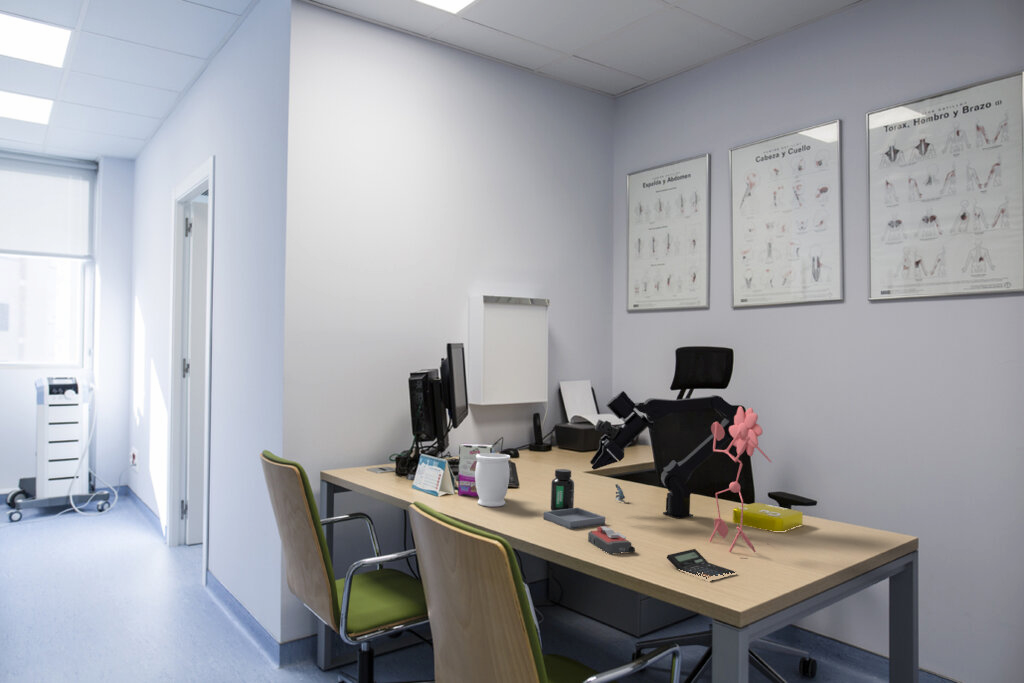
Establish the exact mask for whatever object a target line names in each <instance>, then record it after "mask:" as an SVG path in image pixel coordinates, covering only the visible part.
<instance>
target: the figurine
mask: <svg viewBox="0 0 1024 683" xmlns="http://www.w3.org/2000/svg"><path fill="white" fill-rule="evenodd" d="M744 412H745V414H744ZM758 419H759V417H758V414H757V413H756V412H754V408H753V407H750V408H747V409H746V411H745V410H744V408H743V406H738V408H737V414H736V415H735V417H734V424H735V425H732V426H730V427H729V432H730V434H731V436H732V437H733V440H732V441H731V442H730V444H729V445H728V446H727V448H726V449H724V450H723V449H717V450H715V444H716V439H717V440H718V441H719V440H721V439H722V438H724V435H725V432H724V429H723V427H722V426H721V425H720V424H721V423H719V421H715V422H713V423H712V424H711V425H710V431H711V435H712V434H713V435H714V443H713V451H714V453H715V452H716V453H724V454H725V455H728V456H729V457H730V459H732V461H734V463H737V462H738V463H739V467H738V471H737V476H736V480H735V481H732V482H730V483H729V485H728V486H729V487H728V488H726V489H724V490H721V491H717V492H715V501H716V506H717V507H716V508H717V513H718V517H717V518H715V519H714V522H713V526H714V530H713V532H712V534H711V536H710V538H709V540H708V541H709V542H712V541H713V538H715V537H714V536H715V535H716V533H718V534H719V536H721V538H723V539H725V538H726V537H727V535H728V534H729V527H728V525H727V523H726V522H725V520H723V519H722V518H721V512H720V511H721V510H720V504H719V500H718V498H719V497H718V495H719V494H722V493H724V492H727V491H731V492H732V493H738V494H739V497H740V501H741V506H742V509H741V524H740V527H739V526H736V530H737V533H736V534H735V535H736V536H735V538H734V539H733V541H732V543H731V546H730V548H729V550H728V552H730V553H732V551H733V549H734V547H735V545H736V542H737V541H738V539H739V537H740V536H741V538H742V540H743V541H744V543H746V545H747V546H748V547H749V548H750V549H751V550H752V551H753V553H755V552H756V549H755V547H754V544H752V542H751V539H749V538H748V537H749V536H747V534H746V533H745V532H744V531H743V525H742V518H743V506H744V499H743V496H742V493H741V484H740V483H739V477H740V476H741V475H740V473H741V470H742V468H743V465H744V464H743V463H742V461H741V460H740V459H739V458H740V456H741V455H742V454H743V453H744V452H745V451H746V454H747V455H748V456H749V457H752V456H753V455H754V452H755V449H757V450H758V451H759V453H761V454H762V456H763V457H764V458H765V459H766V460H768V462H769V463H772V461H771V459H770V458H769V457H768V456H767V455H766V454H765V453H764V451H763V450H762V449H761V448H760V447H759V440H758V437H760V436H761V435H763V428H762V427H761V426H760V425H759V424H758V423H757V421H758ZM732 446H734V447H735V448H736V453H737V455H736V456H734V455H733V454H732V453H730V449H731V448H732ZM730 535H731V536H733V534H732V533H731V534H730ZM756 553H757V552H756ZM741 559H745V560H747V559H748V557H741Z"/></svg>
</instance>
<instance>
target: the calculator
mask: <svg viewBox="0 0 1024 683" xmlns="http://www.w3.org/2000/svg"><path fill="white" fill-rule="evenodd" d="M705 558H706V557H704V556H703V555H702V554H701V553H700V552H699V551H698V550H697V549H696V548H693V549H692V548H691V549H688V550H683V551H679V552H675V553H670V554H668V555H667V556H666V560H668V561H669V562H670V563H671V564H672V565H673V567H675V568H676V570H678V569H680V570H683V571H686V572H689V573H692V574H695V575H696V574H697V575H698V573H700V574H699V575H700V576H701V574H702V572H703V574H702V576H703V575H705V576H703V577H706V576H708V575H709V576H708V578H709V577H711V576H713V575H715V576H718V574H720V575H723V573H725V574H726V573H727V574H729V572H730V573H731V574H732V573H735V572H736V571H735V570H732V569H729V568H726V567H723V566H719V565H717V564H714V563H712V562H711V563H710V562H708V560H707V559H705ZM734 571H735V572H734ZM697 572H698V573H697ZM699 575H698V576H699ZM723 576H724V575H723ZM706 579H707V577H706Z"/></svg>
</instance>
